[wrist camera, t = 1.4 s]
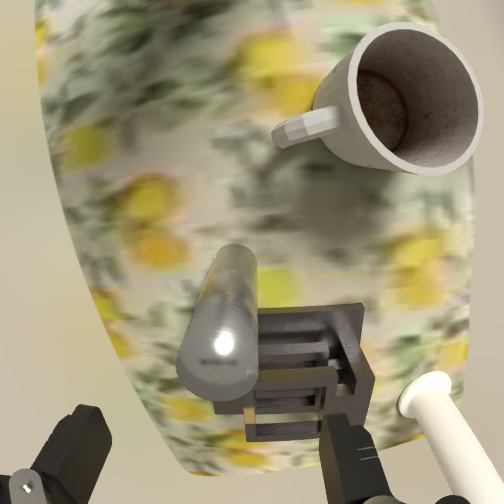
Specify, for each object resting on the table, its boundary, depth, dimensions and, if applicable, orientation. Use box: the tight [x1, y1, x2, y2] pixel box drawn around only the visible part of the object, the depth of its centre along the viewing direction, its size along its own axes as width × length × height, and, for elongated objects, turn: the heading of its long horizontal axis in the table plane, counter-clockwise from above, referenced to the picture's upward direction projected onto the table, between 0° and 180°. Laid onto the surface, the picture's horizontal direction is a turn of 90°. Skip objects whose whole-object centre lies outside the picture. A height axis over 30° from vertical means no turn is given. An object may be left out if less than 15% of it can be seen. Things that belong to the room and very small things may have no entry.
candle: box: [398, 371, 504, 504], centre depth 19 cm, size 7×7×25 cm
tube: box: [176, 244, 258, 401], centre depth 20 cm, size 4×4×14 cm
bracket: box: [213, 303, 375, 442], centre depth 26 cm, size 12×14×7 cm
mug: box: [271, 22, 484, 176], centre depth 18 cm, size 12×9×10 cm
